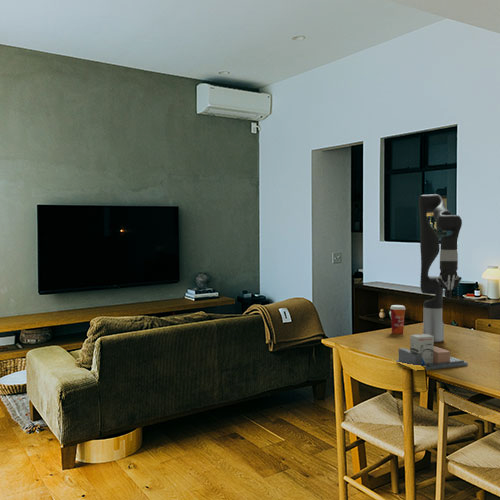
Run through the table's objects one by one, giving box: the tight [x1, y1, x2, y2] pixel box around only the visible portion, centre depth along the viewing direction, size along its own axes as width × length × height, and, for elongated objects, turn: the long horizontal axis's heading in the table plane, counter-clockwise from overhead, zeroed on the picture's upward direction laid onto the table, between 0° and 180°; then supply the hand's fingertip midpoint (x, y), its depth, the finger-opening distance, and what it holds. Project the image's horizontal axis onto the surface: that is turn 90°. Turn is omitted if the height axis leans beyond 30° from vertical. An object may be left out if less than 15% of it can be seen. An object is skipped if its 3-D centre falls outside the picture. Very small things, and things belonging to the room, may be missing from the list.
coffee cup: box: [389, 304, 406, 335], centre depth 285 cm, size 8×8×15 cm
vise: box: [395, 347, 469, 371], centre depth 222 cm, size 26×14×6 cm, turn 108°
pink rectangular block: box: [433, 346, 451, 363], centre depth 223 cm, size 6×11×5 cm, turn 18°
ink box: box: [409, 333, 435, 364], centre depth 220 cm, size 9×5×12 cm, turn 106°
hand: (448, 297), depth 232 cm, fingers closed
